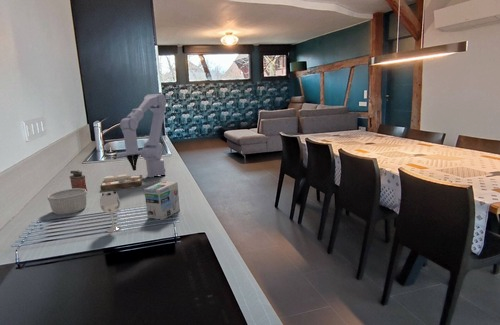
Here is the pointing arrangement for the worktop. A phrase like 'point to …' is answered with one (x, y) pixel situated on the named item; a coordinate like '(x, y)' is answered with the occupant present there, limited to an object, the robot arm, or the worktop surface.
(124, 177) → the key
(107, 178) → the key
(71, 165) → the worktop surface
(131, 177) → the key
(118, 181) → the pattern card
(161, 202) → the light bulb box
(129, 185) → the button board
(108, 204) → the wineglass
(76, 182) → the lighter
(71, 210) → the ramekin
